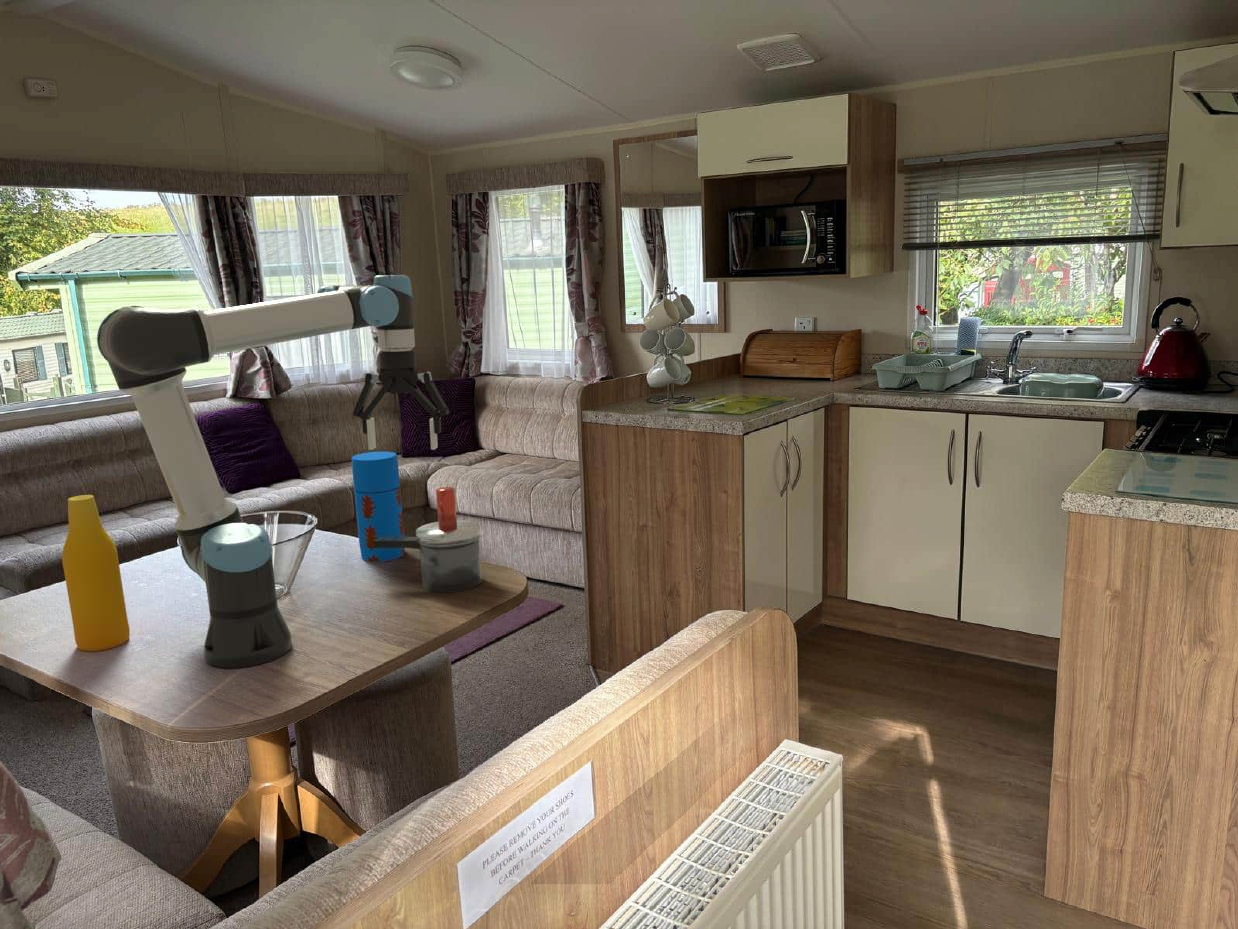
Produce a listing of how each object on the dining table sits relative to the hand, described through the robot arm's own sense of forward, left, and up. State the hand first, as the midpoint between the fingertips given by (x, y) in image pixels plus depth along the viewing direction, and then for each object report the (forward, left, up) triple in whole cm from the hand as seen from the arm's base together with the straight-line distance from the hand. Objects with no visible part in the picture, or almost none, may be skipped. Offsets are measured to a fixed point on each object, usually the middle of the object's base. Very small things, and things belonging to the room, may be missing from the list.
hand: (403, 448), depth 199 cm
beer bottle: (-30, +53, -31) cm, 68 cm away
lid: (+2, -8, -20) cm, 22 cm away
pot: (+2, -3, -31) cm, 31 cm away
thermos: (+23, +14, -31) cm, 41 cm away
